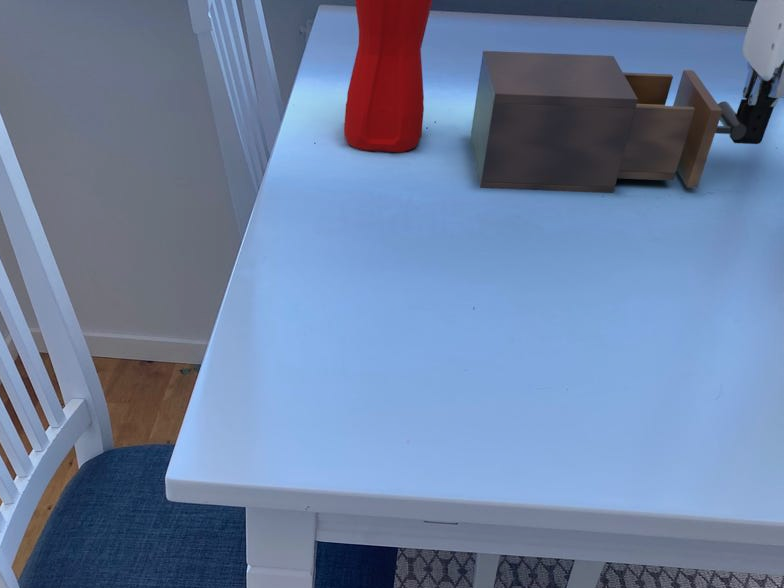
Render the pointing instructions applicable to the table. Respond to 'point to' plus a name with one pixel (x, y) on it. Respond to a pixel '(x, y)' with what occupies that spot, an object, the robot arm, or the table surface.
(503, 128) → the cabinet
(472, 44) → the table surface
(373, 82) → the red bottle
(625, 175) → the drawer
